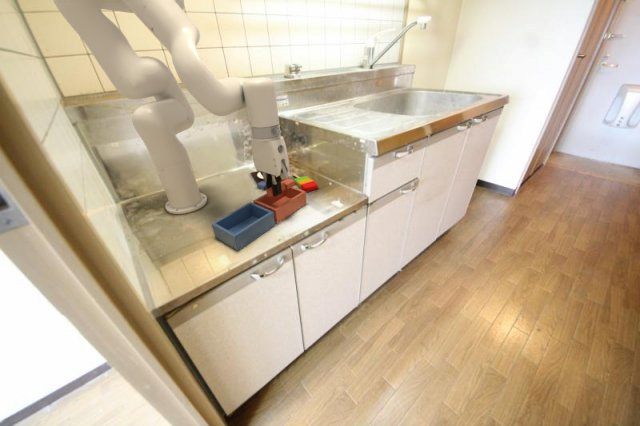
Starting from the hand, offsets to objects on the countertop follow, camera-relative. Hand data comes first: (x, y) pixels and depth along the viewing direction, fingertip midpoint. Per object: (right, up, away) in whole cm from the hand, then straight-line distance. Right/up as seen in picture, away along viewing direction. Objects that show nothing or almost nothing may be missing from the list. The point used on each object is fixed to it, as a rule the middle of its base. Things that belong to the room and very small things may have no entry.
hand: (274, 193), depth 76 cm
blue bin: (-7, -11, -4) cm, 14 cm away
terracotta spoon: (+2, +1, +2) cm, 3 cm away
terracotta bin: (+1, -5, +6) cm, 7 cm away
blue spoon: (-5, +3, +16) cm, 17 cm away
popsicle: (+7, +5, +21) cm, 22 cm away
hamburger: (-7, +9, +26) cm, 28 cm away
